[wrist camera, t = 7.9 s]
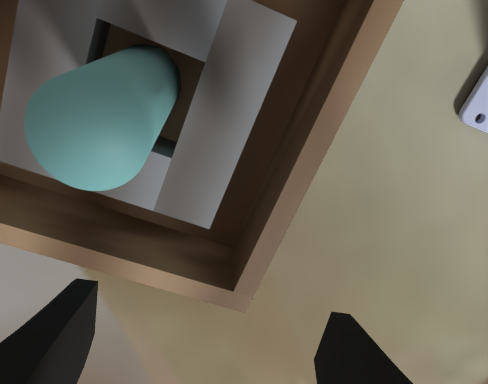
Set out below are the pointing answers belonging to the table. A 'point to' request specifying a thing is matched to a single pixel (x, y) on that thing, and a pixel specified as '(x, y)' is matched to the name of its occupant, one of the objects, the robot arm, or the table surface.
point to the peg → (102, 117)
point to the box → (188, 132)
